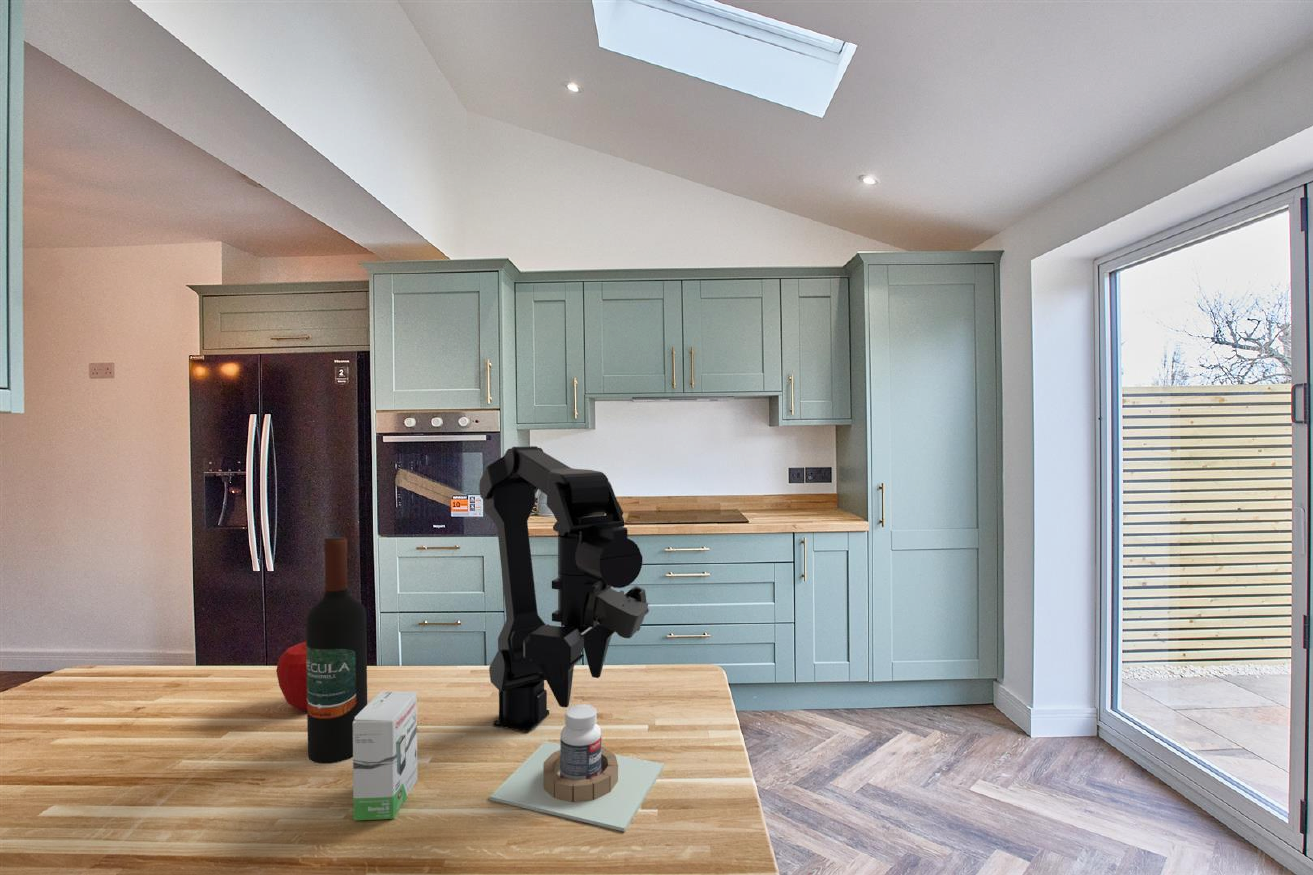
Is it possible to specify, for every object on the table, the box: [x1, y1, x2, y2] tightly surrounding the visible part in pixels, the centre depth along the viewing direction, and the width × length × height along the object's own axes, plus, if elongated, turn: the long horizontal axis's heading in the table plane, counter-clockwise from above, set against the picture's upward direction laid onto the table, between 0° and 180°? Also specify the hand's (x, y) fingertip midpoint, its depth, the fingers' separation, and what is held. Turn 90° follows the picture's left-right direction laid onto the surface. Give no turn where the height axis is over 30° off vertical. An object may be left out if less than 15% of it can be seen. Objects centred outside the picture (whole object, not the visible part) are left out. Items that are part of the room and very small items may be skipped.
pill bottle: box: [559, 704, 602, 780], centre depth 80 cm, size 5×5×9 cm
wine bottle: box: [305, 536, 368, 765], centre depth 88 cm, size 8×8×30 cm
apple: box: [275, 641, 307, 712], centre depth 102 cm, size 10×10×11 cm
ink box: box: [352, 690, 418, 821], centre depth 77 cm, size 9×5×12 cm, turn 2°
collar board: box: [488, 740, 665, 832], centre depth 80 cm, size 18×14×2 cm
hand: (580, 691), depth 80 cm, fingers open, 9 cm apart
